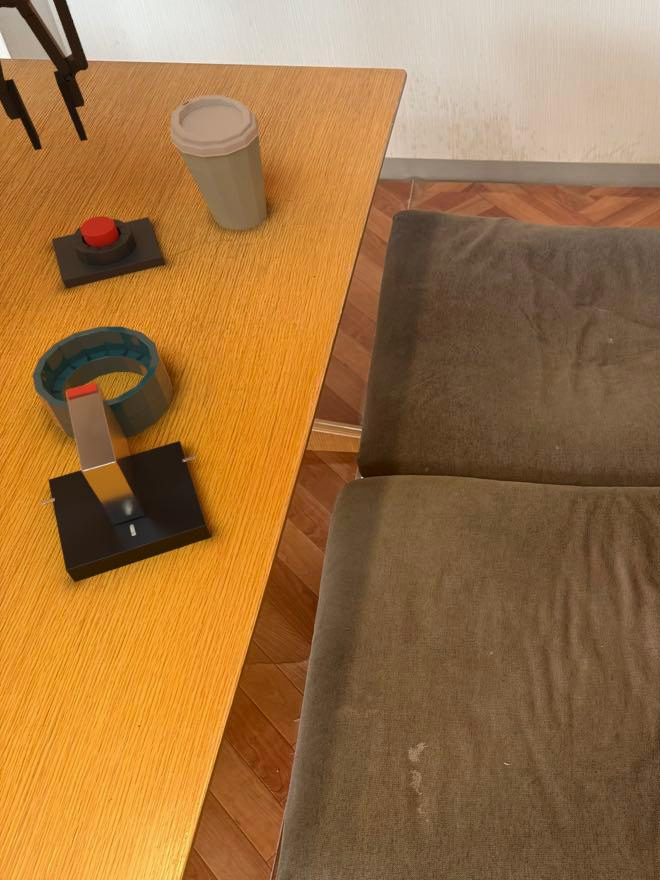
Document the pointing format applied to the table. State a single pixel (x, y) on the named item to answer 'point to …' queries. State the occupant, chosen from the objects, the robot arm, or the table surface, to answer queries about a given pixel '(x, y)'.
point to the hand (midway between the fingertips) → (59, 138)
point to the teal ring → (100, 356)
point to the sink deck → (159, 531)
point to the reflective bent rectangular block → (104, 453)
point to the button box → (108, 254)
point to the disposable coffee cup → (222, 157)
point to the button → (99, 231)
